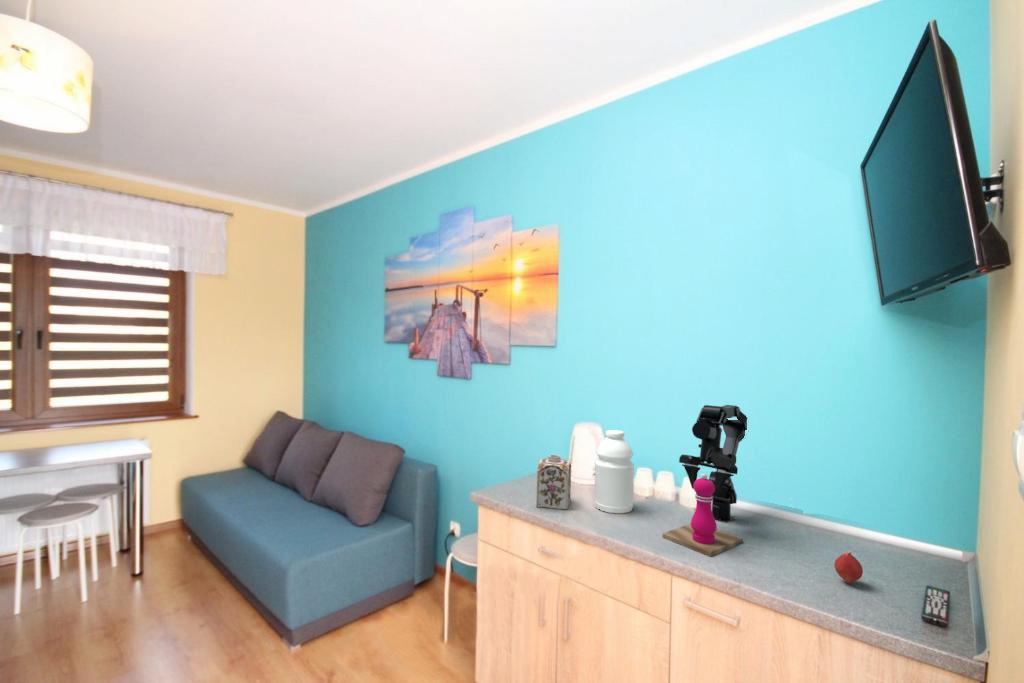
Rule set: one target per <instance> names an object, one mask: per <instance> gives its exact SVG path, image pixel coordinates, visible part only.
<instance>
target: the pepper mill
mask: <svg viewBox="0 0 1024 683" xmlns="http://www.w3.org/2000/svg"><path fill="white" fill-rule="evenodd" d="M693 488H694V489H693V490H694V492H695V494H694V499H695V500H696V507H695V510H694V513H693V515H692V516H691V520H690V524H691V527H692V529H693V530H694V531H693V532H692V538H693V540H694V541H696V542H699V543H702V544H713V543H714V542H715V536H714V534H713V533H714V532H715V531H716V529H718V528H717V521H716V519H715V518H714V516H713V513H712V501H713V496H712V494H713V493H714V491H715V486H714V484H713V482H712V481H710V480H709V478H708V475H707V473H701V475H700V478H697V480H696V481H695V482H694V485H693Z"/></svg>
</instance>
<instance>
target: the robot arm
mask: <svg viewBox="0 0 1024 683" xmlns="http://www.w3.org/2000/svg"><path fill="white" fill-rule="evenodd" d="M746 416H747V415H746V414H744V413H743V412H742V411H741V408H740V406H738V405H731V404H730V405H729V404H726V405H725V404H724V405H720V406H719V405H709V404H705V405H704V406H702V408H701V409H700V412H699V414H698V416H697V419H696V422H695V423H694V424H693V426H692V428H691V431H692V434H693V436H694V437H695V438H696V439H699V440H701V444H700V443H699V444H698V448H700V452H699V453H700V454H699V456H695V455H690V454H681V455H680V456H679V460H678V463H681V464H682V467H684V469H685V472H686V475H687V477H688V480H689V482H690V486H691V489H693V490H694V488H693V485H694V482H695V481H696V480H697V479H698V473H699V471H700V470H701V467H700V466H703V467H706V468H712V469H715V470H714V471H710V473H709V477H708V479H709V480H710V481H712V482H713V484H714V486H715V491H714V493H713V494H712V496H713V501H712V502H711V510H712V513H713V516H714V518H715V520H718V521H720V520H721V522H723V521H724V522H723V523H726V522H729V521H731V519H732V520H734V519H733V518H736V517H735V516H733V515H731V505H734V504H737V501H738V500H737V497H738V495H737V492H736V489H735V487H734V483H733V480H732V477H734V475H738V469H739V468H738V467H737V465H736V464H737V452H738V448H739V444H740V442H742V441H743V440H744V439H745V438H744V436H745V430H747V419H748V417H746ZM727 418H737V419H738V420H728V419H727ZM721 427H722V428H721ZM723 431H724V434H725V438H724V443H723V447H721V439H722V432H723ZM743 438H744V439H743ZM742 439H743V440H742ZM698 466H699V467H698Z"/></svg>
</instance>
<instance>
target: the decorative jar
mask: <svg viewBox="0 0 1024 683" xmlns="http://www.w3.org/2000/svg"><path fill="white" fill-rule="evenodd" d="M561 457H562V456H561V455H558V454H549V455H548V456H547V457H544V458H540V460H539V461H538V462H539V463H538V464H537V465H538V466H537V470H536V507H537V506H539V507H538V508H542V507H550V508H549V509H552V508H560V509H559V510H562V509H567V510H568V508H569V505H570V503H571V502H570V501H571V495H572V494H571V489H572V463H571V461H569V460H567V459H563V458H561Z"/></svg>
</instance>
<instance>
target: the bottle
mask: <svg viewBox="0 0 1024 683" xmlns="http://www.w3.org/2000/svg"><path fill="white" fill-rule="evenodd" d="M605 436H606V437H605V438H604V439H603V440H602V441H600V443H599V445H598V447H597V448H596V452H595V453H596V455H597V456H598V458H597V459H596V460H595V462H594V471H595V472H594V507H595V508H597V510H599V509H600V510H599V511H602V512H604V511H605V512H606V513H609V514H626V513H629V512H631V511H632V510H633V508H634V470H635V469H634V468H635V465H634V463H633V462H632V461H631V458H633V456H634V453H633V450H632V448H631V446H630V444H629V443H628V442H627V440H626V439H625V438H624V437H625V432H624V431H623V430H618V429H617V430H616V429H608V430H605Z"/></svg>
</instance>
